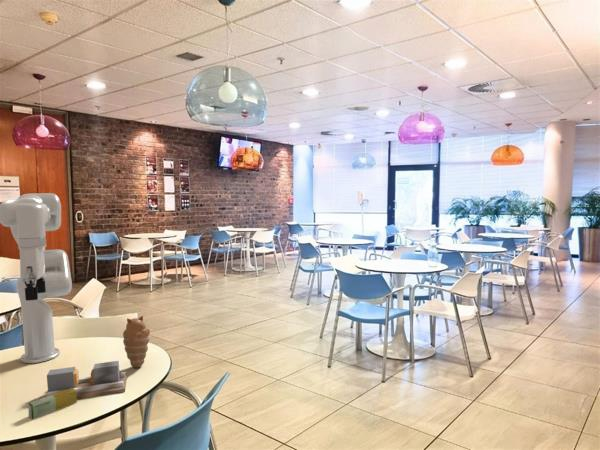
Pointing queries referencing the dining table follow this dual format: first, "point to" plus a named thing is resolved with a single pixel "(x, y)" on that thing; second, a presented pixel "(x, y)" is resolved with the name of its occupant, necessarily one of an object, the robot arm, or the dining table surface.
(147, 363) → the dining table surface
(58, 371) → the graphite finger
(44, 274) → the robot arm
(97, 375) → the rail mount
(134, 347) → the cat ice cream
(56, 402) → the medication box
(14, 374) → the dining table surface
